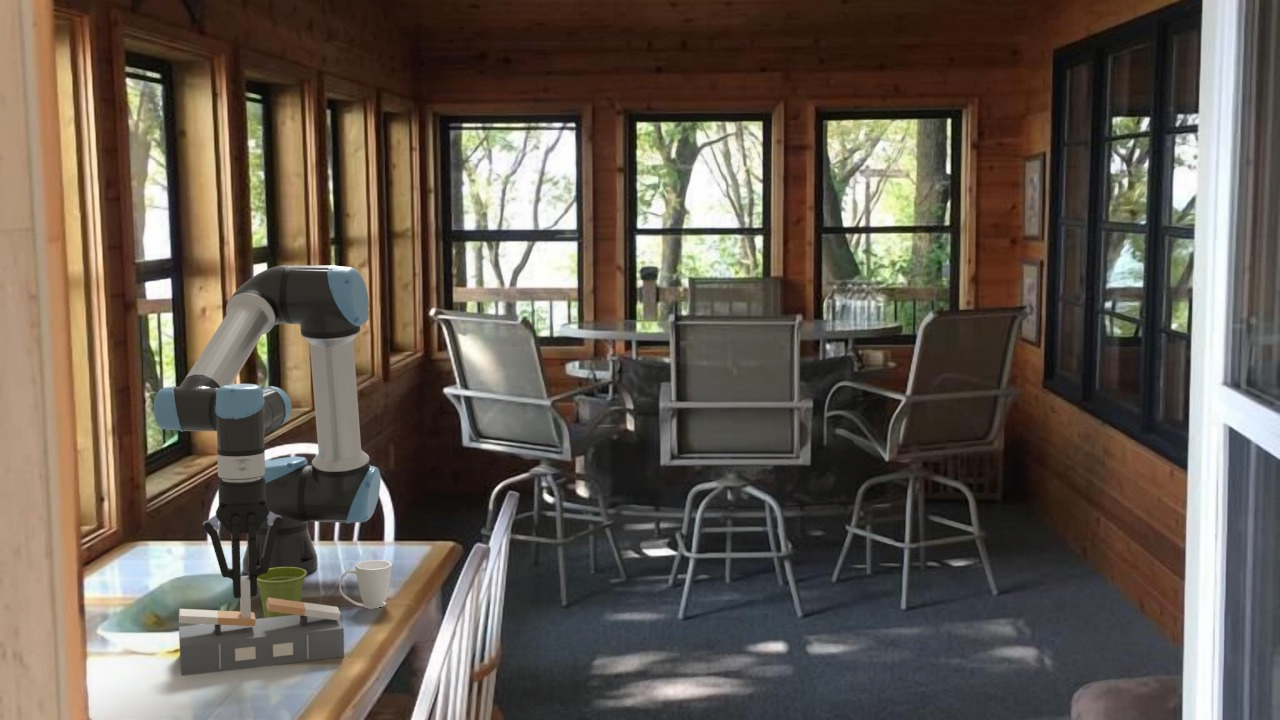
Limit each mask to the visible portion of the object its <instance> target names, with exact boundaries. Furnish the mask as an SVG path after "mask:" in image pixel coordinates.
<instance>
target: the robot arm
mask: <svg viewBox="0 0 1280 720" xmlns="http://www.w3.org/2000/svg"><path fill="white" fill-rule="evenodd" d="M369 301H370V300H369V294H368V290H367V286H366V282H365V280H364V277H363V276H362V275H361V273H360V272H359V271H358V270H357V269H356V268H353V267H351V266H340V265H334V264H332V265H331V264H330V265H328V264H327V265H322V264H321V265H291V264H290V265H288V264H285V265H284V264H283V265H277V266H273V267H271V268H267V269H265V270H263V271H261V272H258V273H257V274H255V275H254V276H252V277H251V278H249V279H248V280H247V281H245V282H244V283H243V284H242V285H241V286H239V287H238V289H236V291H234V293H233V294H232V295H231V297H230V299H229V300H228V302H227V304H226V308H225V316H224V318H223V319H222V321H221V322H220V324H219V326H218V327H217V328H216V331H215V332H214V334H213V335H212V336H211V337H210V340H209V341H208V343H207V344H206V345H205V348H204V349H203V351H202V352H201V353H200V354H199V357H198V358H197V359H196V361H195V363H194V364H193V366H192V367H191V368H190V370H189V372H188V373H187V374H186V376H185V378H184V380H182V383H180V385H179V386H175V385H172V386H169V387H167V386H166V387H165V386H164V387H163V388H161V389H159V390H158V392H156V395H155V398H154V402H153V415H154V418H155V422H156V423H157V425H158V426H159V427H160V428H161V429H163V430H169V431H170V430H171V431H180V432H216V441H217V442H216V443H217V446H216V447H217V450H216V451H217V452H216V453H217V476H218V477H219V478H220V479H219V481H218V482H217V483H218V484H217V485H218V487H217V489H218V506H217V508H216V511H215V515H213V516H212V517H210V518H209V519H205V520H203V521H202V525H203V529H204V530H205V532H206V534H207V535H208V536H209V537H210V539H211V543H212V546H213V549H214V550H213V551H214V554H215V556H216V560H217V563H218V566H219V570H220V573H221V576H222V577H223V578H229V579H231V580H232V595H233V597H234V599H239V603H240V606H239V608H240V612H241V617H242V618H251V612H252V610H251V609H252V608H251V606H252V605H251V604H252V601H251V598H254V597H257V595H258V585H257V577H258V576H259V575H262V574H266V573H267V572H268V569H270V568H277V567H296V568H301V569H304V570H306V571H307V574H309V573H312V572H314V571H315V570H316V569H317V568H318V553H317V552H316V549H315V546H314V543H313V541H312V538H311V535H310V533H309V522H317V523H318V522H319V523H321V522H322V523H323V522H324V523H343V524H344V523H345V524H351V523H352V524H353V523H366V522H368V521H369V520H370V519H371V518H372V517H373V515H374V513H375V510H376V508H377V504H378V501H379V496H380V490H381V472H380V469H379V468H378V467H376V466H374V465H372V466H371V463H370V456H369V454H368V453H366V452H365V451H364V450H362V443H361V441H362V440H361V431H360V430H361V428H360V417H359V415H360V414H359V413H360V412H359V401H358V398H359V397H358V387H357V373H356V359H355V358H356V357H355V347H354V346H355V345H354V342H355V341H354V339H355V338H356V337H357V336H358V335H359V334H360V333H361V326H363V325H364V324H365V323H367V321H368V317H369V315H370V314H369V313H370V311H369V305H370V302H369ZM283 324H288V325H299V326H300V335H301V337H302V338H303V339H305V340H306V341H307V342H308V343H309V351H310V353H309V355H310V362H311V363H310V365H311V375H312V388H313V389H312V390H313V399H314V401H313V402H314V403H313V404H314V411H315V412H314V413H315V425H316V437H317V447H318V448H317V451H318V453H317V455H315V456H314V457H313V458H312V460H311V465H309V463H308V460H307V458H306V457H304V456H287V457H281V458H274V459H271V460H267V461H266V460H265V459H266V458H265V457H266V455H265V453H266V452H265V450H266V449H265V434H267V433H269V432H272V431H275V430H278V429H279V428H281V427H282V426H283V425H284V424H285V423H286V422H287V421H288V420H289V418H290V417H291V414H292V410H293V409H292V407H293V406H292V401H291V399H290V396H289V395H288V394H287V393H286V392H285V390H283V389H281V388H280V387H278V386H277V387H276V386H273V385H271V386H260V385H259V384H254V383H234V382H235V380H236V379H237V378H238V376H239V374H240V372H241V371H242V369H243V368H244V365H245V364H246V362H247V361H248V358H250V356H251V354H252V353H253V351H254V349H255V348H256V346H257V344H258V342H259V341H260V339H261V338H262V336H264V335H266V334H268V333H269V332H270V331H271V330H273V328H274V326H276V325H283ZM219 522H220V523H221V524H222V525H223V526H224V528H225V529H226V530H227V531H228V532H229V533H230V538H231V541H230V542H231V568H229V567H228V563H227V560H226V556H225V554H224V550H223V547H222V543H221V539H220V536H219V533H218V530H219V529H220V526H219ZM244 533H245V534H246V536H247V540H246V542H247V546H246V549H245V552H244V555H243V559H242V566H241V544H240V543H241V535H242V534H244ZM241 567H242V569H241ZM241 570H242V572H241ZM242 573H244V575H242Z"/></svg>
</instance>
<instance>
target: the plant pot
mask: <svg viewBox="0 0 1280 720" xmlns="http://www.w3.org/2000/svg"><path fill="white" fill-rule="evenodd" d="M307 574H308V573H307V571H306V570H304V569H301V568H296V567H277V568H270V569H268V572H267V573H266V574H262V575H259V576H258V577H257V588H258V590H259V594H260V600H261V606H262V612H263V617H264V618H270V617H280V616H290V615H294V614H286V613H279V612H271V611H268V609H267V605H266V602H267V598H268V597H269V598H276V599H283V600H291V601H298V602H302V600H301V599H302V591H303V584H304V582H305V578H306V577H307Z"/></svg>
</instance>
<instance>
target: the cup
mask: <svg viewBox="0 0 1280 720" xmlns="http://www.w3.org/2000/svg"><path fill="white" fill-rule="evenodd" d="M354 567H355V569H348V570H346V571H345V572H343V574H342V575H341V577H340V580H339V587H338V588H339V589H338V590H339V593H340V595H341V596H342V597H343V598H344V599H345V600H346V601H348V602H349V603H352V604H353V605H355V606H356V607H357V606H358V607H360V608H361V607H363V608H365V609H367V608H368V609H369V610H375V609H374V608H378V609H380V608H379V607H383V606H384V607H386V606H387V603H386V602H385V601H386V600H387V599H388V594H389V590H390V584H391V576H392V571H393V563H391V562H390V561H388V560H383V559H382V560H381V559H372V560H371V559H370V560H364V561H360V562H359V563H357V564H355V565H354ZM347 574H354V575H356V578H357V579H356V580H357V585H358V591H359V595H360V598H361V600H362V601H363V603H360V602H356V601H355V600H353V599H351V598H350V597H349V596H347V595H346V594H345V593H344V592H343V590H342V582H343V578H345V576H346V575H347ZM385 605H386V606H385ZM384 607H383V608H384Z"/></svg>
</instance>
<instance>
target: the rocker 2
mask: <svg viewBox="0 0 1280 720" xmlns="http://www.w3.org/2000/svg"><path fill="white" fill-rule="evenodd" d="M266 605H267V609H268V611H271V612H279V613H286V614H294V615H301V616H309V617H316V618H324V619H331V620H339V619H341V612H340V610H339V607H338V606H334V605H333V606H331V605H327V604H319V603H313V602H305V601H304V602H303V601H301V602H298V601H291V600H283V599H276V598H269V597H268V598H267V602H266Z"/></svg>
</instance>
